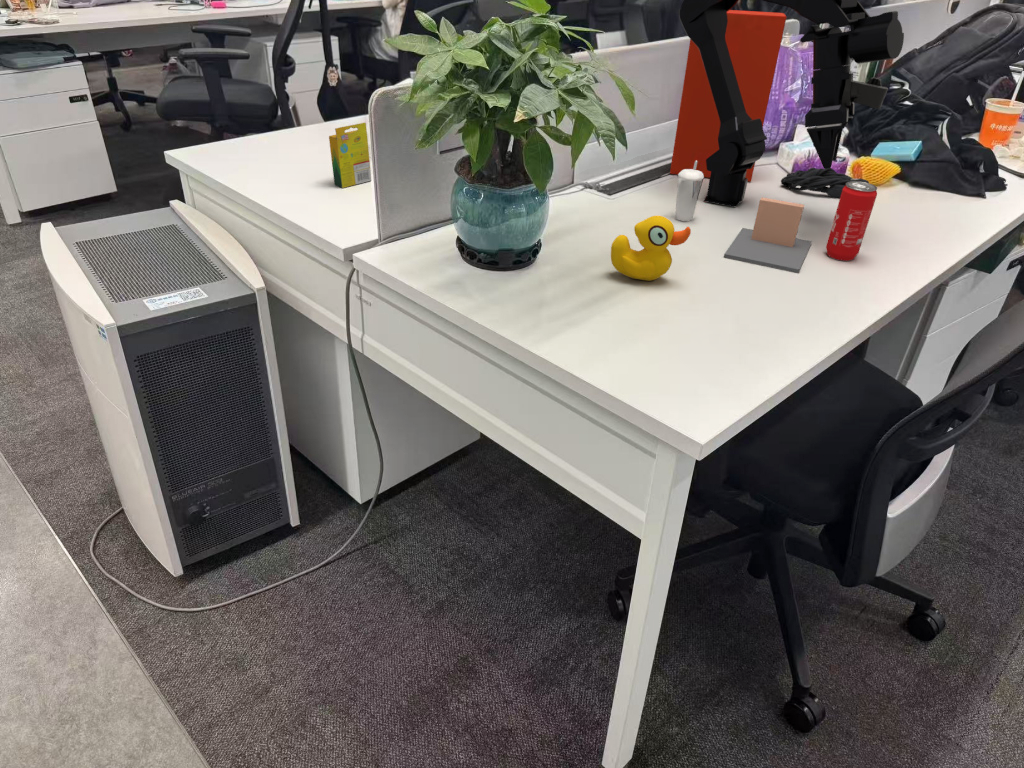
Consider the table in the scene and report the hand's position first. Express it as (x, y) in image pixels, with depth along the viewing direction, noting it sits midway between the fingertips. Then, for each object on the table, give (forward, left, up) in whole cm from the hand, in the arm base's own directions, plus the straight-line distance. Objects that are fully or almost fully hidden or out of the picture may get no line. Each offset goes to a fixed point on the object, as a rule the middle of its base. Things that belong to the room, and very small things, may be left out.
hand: (830, 164), depth 125 cm
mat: (-5, -15, -12) cm, 20 cm away
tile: (-5, -12, -11) cm, 17 cm away
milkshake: (-22, -7, -12) cm, 26 cm away
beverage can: (+6, -10, -12) cm, 17 cm away
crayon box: (-86, -24, -12) cm, 90 cm away
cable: (-2, +27, -12) cm, 30 cm away
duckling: (-20, -37, -12) cm, 44 cm away
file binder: (-25, +24, -12) cm, 37 cm away
